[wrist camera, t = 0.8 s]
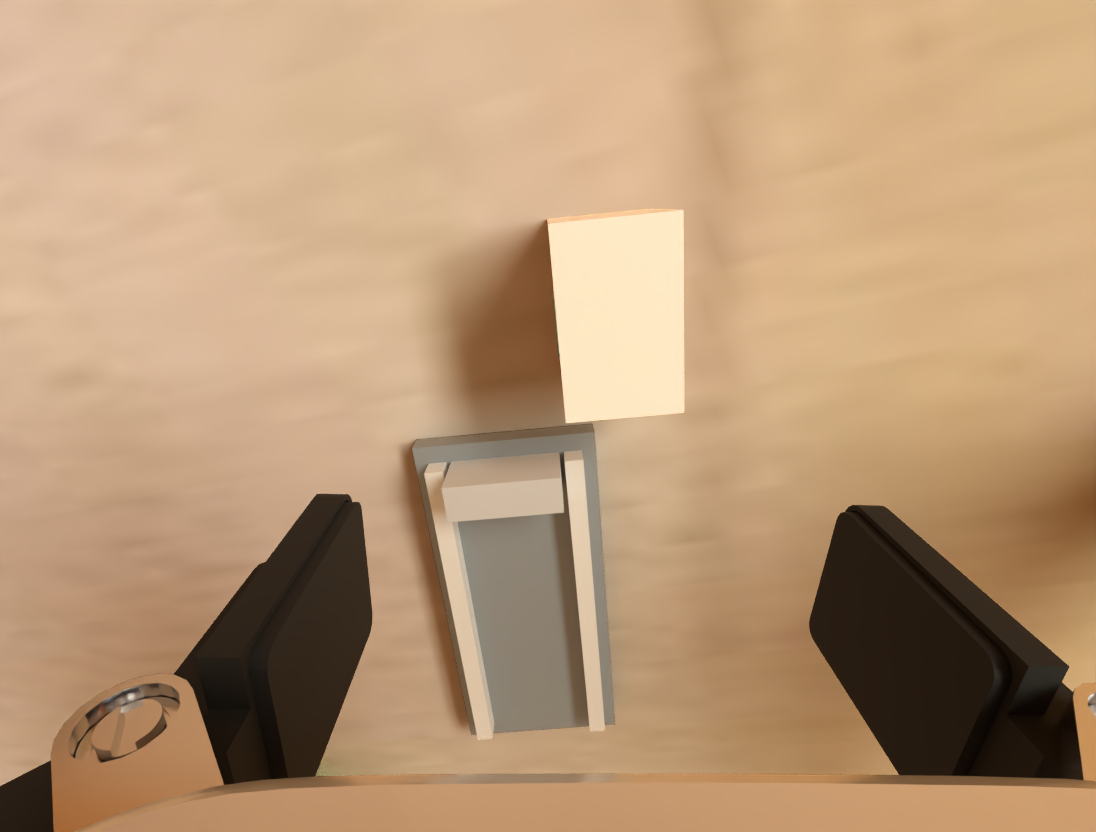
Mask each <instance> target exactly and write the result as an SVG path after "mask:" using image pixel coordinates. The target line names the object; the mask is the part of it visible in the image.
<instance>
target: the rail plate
mask: <svg viewBox="0 0 1096 832" xmlns="http://www.w3.org/2000/svg"><path fill="white" fill-rule="evenodd" d="M412 452H413V456H414V461H415V466H416V471H417V476H418V480H419V485H420V490H421V495H422V500H423V505H424V509H425V514H426V519H427V524H428V529H429V534H430V538H431V543H432V548H433V553H434V558H435V562H436V567H437V572H438V577H439V582H440V587H441V591H442V596H443V601H444V606H445V611H446V616H447V620H448V625H449V630H450V635H451V640H452V644H453V649H454V654H455V659H456V664H457V669H458V673H459V678H460V683H461V688H462V693H463V698H464V702H465V707H466V712H467V717H468V722H469V726H470V731H471V735H476V734H477V738H478V740H482V739H493V733H503V732H517V731H531V730H545V729H558V728H572V727H586V726H590V732H593V731H605V725H613V724H615V717H614V703H613V688H612V674H611V660H610V646H609V632H608V617H607V603H606V589H605V575H604V561H603V546H602V532H601V518H600V504H599V490H598V475H597V461H596V447H595V433H594V428H593V424H584V425H573V426H562V427H551V428H540V429H529V430H517V431H506V432H495V433H484V434H473V435H462V436H451V437H440V438H429V439H418V440H416V442H415V444H414V446H413V447H412Z"/></svg>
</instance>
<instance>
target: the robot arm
mask: <svg viewBox="0 0 1096 832" xmlns="http://www.w3.org/2000/svg"><path fill="white" fill-rule="evenodd" d="M371 626H372V606H371V596H370V586H369V577H368V567H367V557H366V547H365V538H364V528H363V518H362V509H361V505H360V503H359V502H352V500H351V497H350V496H349V495H348V494H317V495H316V496H315V497H314V498H313V500H312V501H311V502H310V504H309V505H308V506H307V508H306V509H305V510H304V512H303V513H302V514H301V516H300V517H299V518H298V520H297V521H296V522H295V524H294V525H293V526H292V528H291V529H290V530H289V532H288V533H287V534H286V536H285V537H284V538H283V540H282V541H281V542H280V544H279V545H278V546H277V548H276V549H275V550H274V552H273V553H272V554H271V556H270V557H269V558H268V560H267V561H266V562H264V563H261V564H259V565H258V566H257V567H256V568H255V569H254V570H253V571H252V573H251V574H250V575H249V577H248V578H247V579H246V581H245V582H244V583H243V585H242V586H241V587H240V588H239V590H238V591H237V592H236V594H235V595H234V596H233V598H232V599H231V600H230V602H229V603H228V604H227V605H226V607H225V608H224V609H223V611H222V612H221V613H220V615H219V616H218V617H217V619H216V620H215V621H214V622H213V624H212V625H211V626H210V628H209V629H208V630H207V632H206V633H205V634H204V636H203V637H202V638H201V639H200V641H199V642H198V643H197V645H196V646H195V647H194V649H193V650H192V651H191V653H190V654H189V655H188V656H187V658H186V659H185V660H184V662H183V663H182V664H181V666H180V667H179V668H178V670H177V671H176V672H175V673H174V675H170V674H154V675H147V676H141V677H138V678H135V679H132V680H129V681H126V682H123V683H120V684H118V685H116V686H114V687H112V688H110V689H108V690H106V691H104V692H102V693H100V694H99V695H97V696H96V697H94V698H93V699H92V700H90V701H89V702H87V703H86V704H85V705H83V706H82V707H80V708H79V709H78V710H77V711H76V712H75V713H74V714H73V715H72V716H71V717H70V718H69V719H68V720H67V721H66V722H65V723H64V725H63V726H62V728H61V730H60V731H59V733H58V734H57V736H56V738H55V739H54V743H53V747H52V752H51V761H49V762H47V763H45V764H43V765H41V766H39V767H37V768H35V769H33V770H31V771H29V772H27V773H25V774H23V775H21V776H19V777H17V778H15V779H14V780H12V781H10V782H8V783H6V784H4V785H2V786H0V832H1096V683H1085V684H1082V685H1080V686H1078V687H1077V688H1075V689H1074V691H1073V692H1072V691H1071V690H1070V689H1069V688H1068V687H1066V686H1065V685H1064V684H1063V683H1062V680H1063V678H1064V676H1065V674H1066V672H1067V670H1068V668H1069V666H1068V665H1067V664H1066V663H1065V662H1063V661H1062V660H1061V659H1060V658H1059V657H1058V656H1057V655H1055V654H1054V653H1053V652H1052V651H1051V650H1050V649H1048V648H1047V647H1046V646H1045V645H1044V644H1043V643H1042V642H1040V641H1039V640H1038V639H1037V638H1036V637H1035V636H1034V635H1032V634H1031V633H1030V632H1029V631H1028V630H1027V629H1025V628H1024V627H1023V626H1022V625H1021V624H1020V623H1019V622H1017V621H1016V620H1015V619H1014V618H1013V617H1012V616H1010V615H1009V614H1008V613H1007V612H1006V611H1005V610H1004V609H1002V608H1001V607H1000V606H999V605H998V604H997V603H996V602H994V601H993V600H992V599H991V598H990V597H989V596H987V595H986V594H985V593H984V592H983V591H982V590H981V589H979V588H978V587H977V586H976V585H975V584H974V583H973V582H971V581H970V580H969V579H968V578H967V577H966V576H964V575H963V574H962V573H961V572H960V571H959V570H958V569H956V568H955V567H954V566H953V565H952V564H951V563H949V562H948V561H947V560H946V559H945V558H944V557H943V556H941V555H940V554H939V553H938V552H937V551H936V550H935V549H933V548H932V547H931V546H930V545H929V544H928V543H926V542H925V541H924V540H923V539H922V538H921V537H920V536H918V535H917V534H916V533H915V532H914V531H913V530H912V529H910V528H909V527H908V526H907V525H906V524H905V523H903V522H902V521H901V520H900V519H899V518H898V517H897V516H895V515H894V514H893V513H892V512H891V511H890V510H889V509H887V508H886V507H884V506H869V505H852V506H850V507H848V509H847V510H846V511H845V512H843V513H840V515H839V516H838V518H837V521H836V524H835V528H834V532H833V535H832V539H831V543H830V547H829V550H828V554H827V558H826V561H825V565H824V569H823V572H822V576H821V580H820V583H819V587H818V591H817V594H816V598H815V602H814V605H813V609H812V613H811V617H810V622H809V627H810V632H811V636H812V638H813V640H814V642H815V643H816V645H817V646H818V648H819V649H820V651H821V653H822V654H823V656H824V657H825V659H826V660H827V662H828V664H829V665H830V667H831V668H832V670H833V671H834V673H835V675H836V676H837V678H838V679H839V681H840V682H841V684H842V686H843V687H844V689H845V690H846V692H847V693H848V695H849V697H850V698H851V700H852V701H853V703H854V704H855V706H856V708H857V709H858V711H859V712H860V714H861V715H862V717H863V719H864V720H865V722H866V723H867V725H868V727H869V728H870V730H871V731H872V733H873V734H874V736H875V738H876V739H877V741H878V742H879V744H880V745H881V747H882V749H883V750H884V752H885V753H886V755H887V756H888V758H889V760H890V761H891V763H892V764H893V766H894V767H895V769H896V771H897V772H898V774H899V775H820V774H408V775H359V776H316V777H315V775H316V773H317V770H318V768H319V765H320V762H321V760H322V757H323V754H324V752H325V749H326V747H327V744H328V741H329V739H330V736H331V734H332V731H333V728H334V726H335V723H336V720H337V718H338V715H339V713H340V710H341V707H342V705H343V702H344V700H345V697H346V694H347V692H348V689H349V687H350V684H351V681H352V679H353V676H354V673H355V671H356V668H357V666H358V663H359V660H360V658H361V655H362V653H363V650H364V647H365V645H366V642H367V640H368V637H369V634H370V631H371Z"/></svg>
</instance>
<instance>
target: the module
mask: <svg viewBox="0 0 1096 832" xmlns="http://www.w3.org/2000/svg"><path fill="white" fill-rule="evenodd" d="M547 222H548V233H549V244H550V255H551V266H552V277H553V288H554V291H553V301H554V312H555V323H556V334H557V345H558V356H559V357H560V365H561V376H562V387H563V398H564V409H565V420H566V423H574V422H585V421H597V420H608V419H619V418H630V417H641V416H652V415H663V414H674V413H684V229H683V210H673V209H651V208H649V209H639V210H629V211H620V212H610V213H600V214H590V215H581V216H571V217H561V218H551V219H547Z"/></svg>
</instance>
